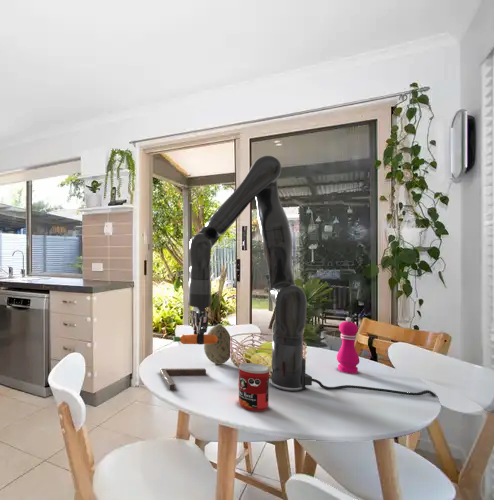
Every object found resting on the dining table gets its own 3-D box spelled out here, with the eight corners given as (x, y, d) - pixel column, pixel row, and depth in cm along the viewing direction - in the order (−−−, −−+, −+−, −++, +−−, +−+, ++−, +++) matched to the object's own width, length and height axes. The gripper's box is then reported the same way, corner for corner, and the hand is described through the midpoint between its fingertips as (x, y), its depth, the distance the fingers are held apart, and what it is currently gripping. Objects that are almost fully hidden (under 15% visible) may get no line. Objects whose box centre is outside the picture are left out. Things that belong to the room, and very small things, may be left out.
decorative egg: (236, 368, 139) (236, 327, 140) (207, 367, 140) (207, 327, 140) (227, 359, 150) (228, 322, 150) (201, 359, 150) (201, 321, 150)
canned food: (232, 402, 107) (233, 364, 107) (254, 399, 110) (254, 361, 110) (252, 413, 100) (252, 372, 100) (274, 409, 103) (275, 369, 103)
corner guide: (204, 373, 132) (204, 368, 133) (220, 389, 117) (220, 384, 117) (159, 373, 131) (160, 368, 131) (169, 390, 115) (169, 384, 115)
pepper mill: (359, 370, 140) (360, 317, 140) (359, 375, 134) (360, 319, 134) (336, 366, 144) (337, 314, 144) (336, 371, 138) (337, 317, 138)
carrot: (215, 342, 129) (215, 333, 129) (218, 345, 126) (219, 335, 126) (172, 342, 128) (172, 333, 128) (174, 345, 125) (174, 335, 125)
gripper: (217, 294, 120) (216, 348, 120) (204, 290, 134) (202, 338, 134) (194, 294, 120) (193, 348, 120) (183, 289, 134) (182, 337, 134)
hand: (198, 342), depth 127 cm, fingers closed on carrot, 3 cm apart
